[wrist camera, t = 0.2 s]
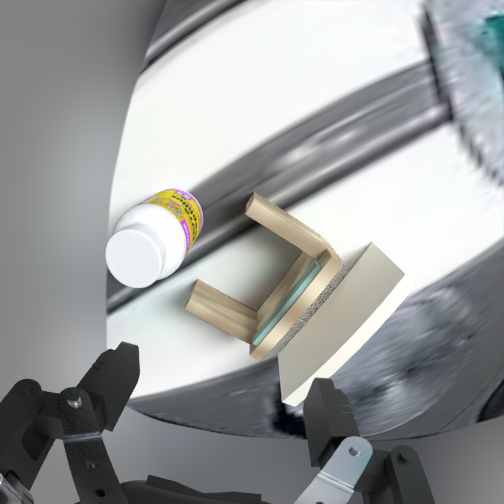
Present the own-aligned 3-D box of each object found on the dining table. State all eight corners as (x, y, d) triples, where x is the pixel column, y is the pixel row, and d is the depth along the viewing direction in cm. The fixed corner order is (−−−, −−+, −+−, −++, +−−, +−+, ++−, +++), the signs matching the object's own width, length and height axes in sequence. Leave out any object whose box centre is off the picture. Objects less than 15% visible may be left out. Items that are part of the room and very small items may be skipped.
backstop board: (372, 241, 32) (405, 274, 24) (382, 250, 33) (416, 283, 24) (277, 353, 39) (282, 401, 30) (288, 358, 39) (295, 406, 31)
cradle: (254, 191, 30) (253, 205, 24) (326, 239, 32) (343, 264, 26) (192, 287, 35) (179, 320, 28) (260, 324, 37) (260, 360, 30)
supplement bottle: (214, 230, 32) (191, 284, 20) (165, 252, 33) (123, 310, 21) (188, 176, 30) (146, 200, 18) (139, 202, 31) (80, 239, 19)
